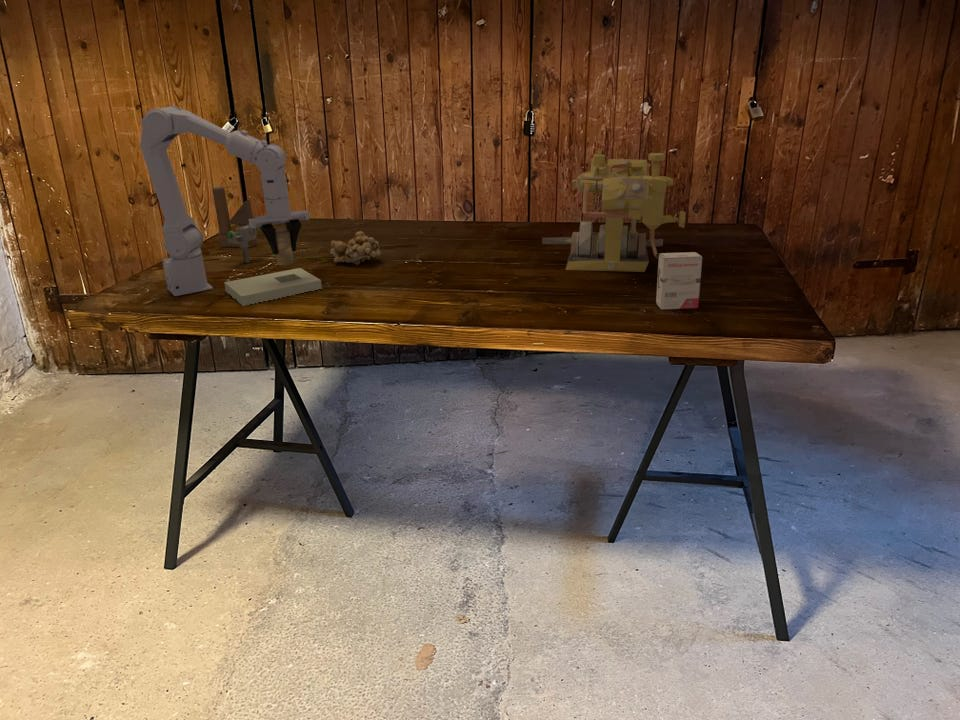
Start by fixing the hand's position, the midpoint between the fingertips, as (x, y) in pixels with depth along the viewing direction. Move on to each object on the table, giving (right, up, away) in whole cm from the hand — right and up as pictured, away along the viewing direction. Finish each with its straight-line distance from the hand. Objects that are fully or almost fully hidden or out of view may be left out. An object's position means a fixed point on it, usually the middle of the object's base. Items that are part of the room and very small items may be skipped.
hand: (284, 252), depth 179 cm
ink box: (+93, -15, -17) cm, 96 cm away
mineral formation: (+15, 0, +24) cm, 28 cm away
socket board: (-3, -10, +2) cm, 10 cm away
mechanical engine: (+84, -1, +15) cm, 86 cm away
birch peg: (0, -3, +1) cm, 3 cm away
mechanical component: (-18, +1, +27) cm, 32 cm away
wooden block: (-27, +8, +45) cm, 53 cm away
